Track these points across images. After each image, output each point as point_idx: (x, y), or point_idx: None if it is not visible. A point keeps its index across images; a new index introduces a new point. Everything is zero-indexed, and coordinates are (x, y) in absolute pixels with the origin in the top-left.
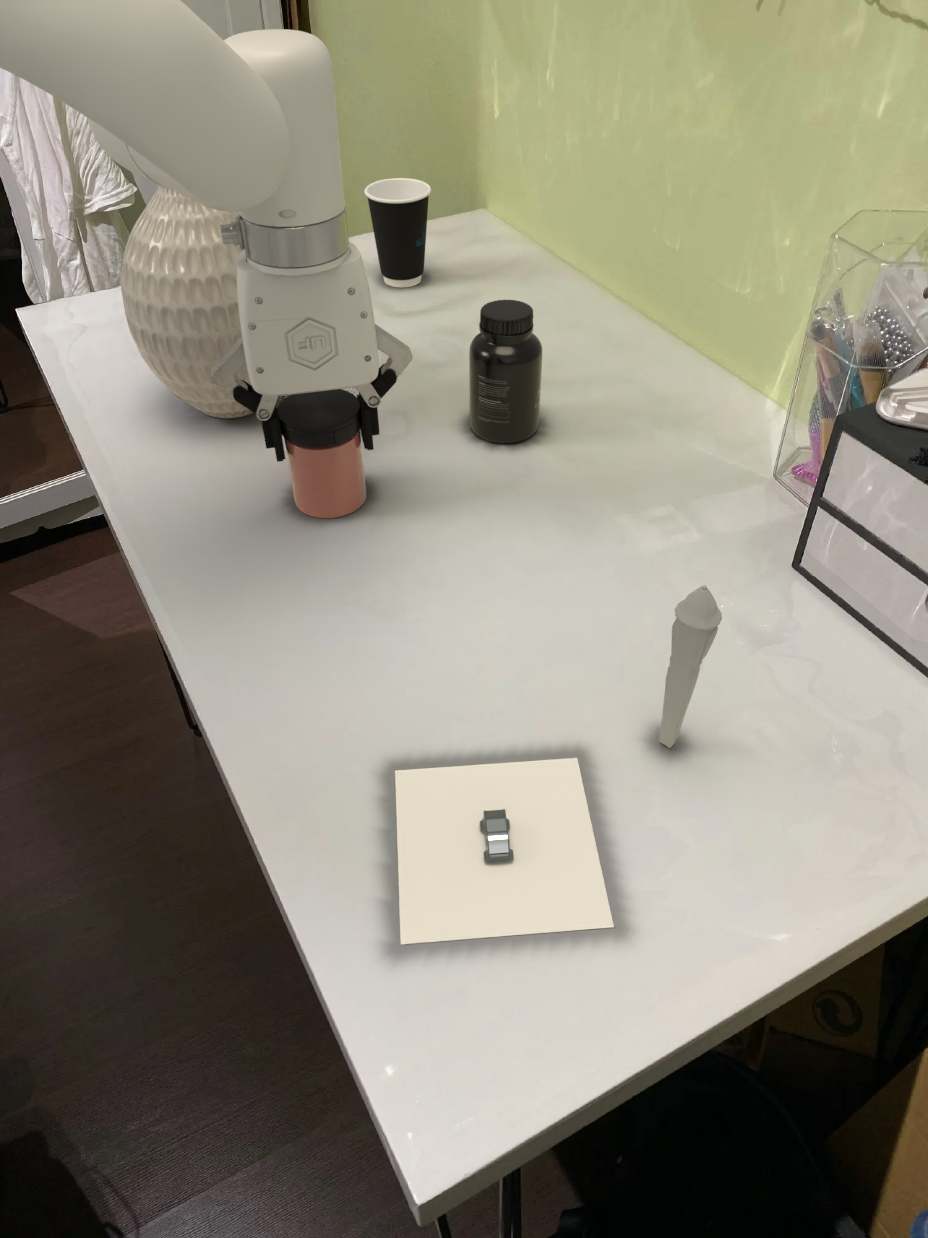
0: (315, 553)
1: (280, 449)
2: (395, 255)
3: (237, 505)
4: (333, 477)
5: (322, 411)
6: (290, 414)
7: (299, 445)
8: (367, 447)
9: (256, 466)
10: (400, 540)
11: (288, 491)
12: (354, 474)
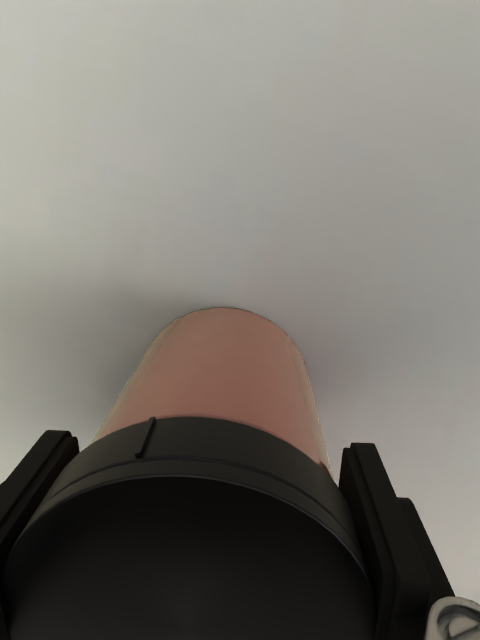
0: (292, 176)
1: (365, 471)
2: None
3: (439, 410)
4: (200, 355)
5: (172, 599)
6: (320, 612)
7: None
8: (62, 435)
9: None
10: (70, 175)
11: None
12: (138, 371)
